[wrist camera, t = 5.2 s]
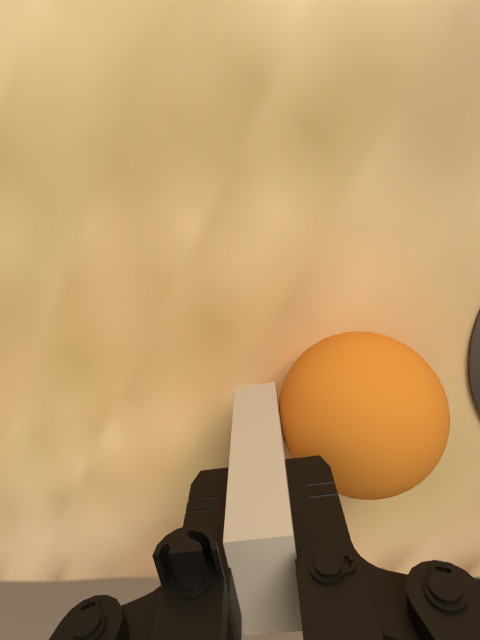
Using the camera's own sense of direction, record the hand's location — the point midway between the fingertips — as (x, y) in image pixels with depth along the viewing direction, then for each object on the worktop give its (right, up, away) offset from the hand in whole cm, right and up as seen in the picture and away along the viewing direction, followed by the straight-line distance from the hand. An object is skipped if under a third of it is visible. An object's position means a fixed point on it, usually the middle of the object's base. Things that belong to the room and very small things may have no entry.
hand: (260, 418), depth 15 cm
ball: (+3, 0, -1) cm, 3 cm away
